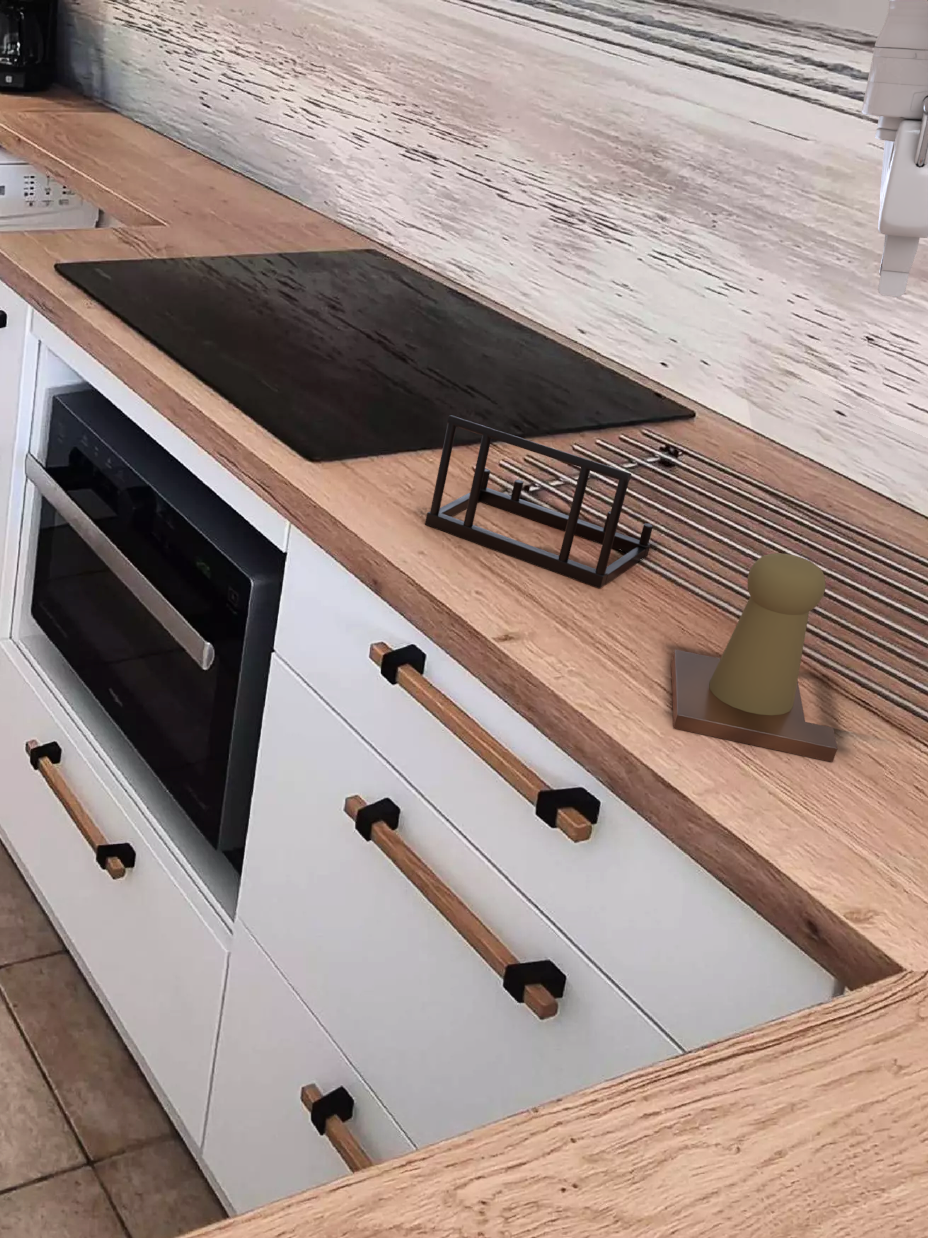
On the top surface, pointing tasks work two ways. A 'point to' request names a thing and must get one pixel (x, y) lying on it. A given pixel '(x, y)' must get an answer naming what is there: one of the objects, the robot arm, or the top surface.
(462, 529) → the dish rack
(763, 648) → the cork
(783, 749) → the walnut board
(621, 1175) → the top surface
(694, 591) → the top surface
